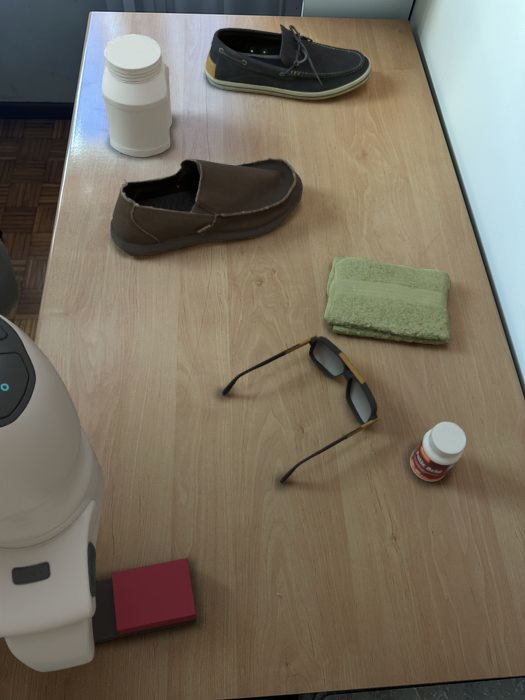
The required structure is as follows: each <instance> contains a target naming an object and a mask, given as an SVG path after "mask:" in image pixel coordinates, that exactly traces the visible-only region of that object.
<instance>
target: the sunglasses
mask: <svg viewBox="0 0 525 700" xmlns="http://www.w3.org/2000/svg"><path fill="white" fill-rule="evenodd" d="M308 344H309V346H310V347H309V351H308V355H309V357H310V359H311V361H312V362H314V364H316V366H317V367H318V368H319V369H320V370H321V371H322V372H323V373H324V374H325V375H326V376H327V377H329V378H330V379H336V378H339V377H341V376H342V377H343V378H344V379H345V381H346V383H345V399H346V402H347V404H348V406H349V407H350V409H351V411H352V413H353V415H354V417H355V418H356V420H357V422H358V423H359V424H360V426H358V427H357V428H354V429H353V430H351V431H349V432H347V433H346V434H345V435H343V436H341V437H340V438H338V439H336V440H334V441H333V442H331V443H329V444H327V445H325V446H324V447H322V448H321V449H319V450H317V451H316V452H314V453H312V454H310V455H309V456H306V457H305V458H303V459H302V460H300V461H299V462H297V463H295V464H294V465H293V467H292V468H290V469H289V470H288V471H287V472H286V473H285V474H284V475H283V476H282V477H281V478H280V479H279V483H280V484H283V483H285V482H286V481H287V480H288V479H290V478H289V477H291V475H292V474H293V473H294V472H295V471H296V470H297V469H298V468H299V467H300V466H301V465H302V464H305V463H306V462H308V461H309V460H311V459H313V458H315V457H316V456H318V455H320V454H323V453H324V452H326V451H328V450H329V449H331V448H333V447H334V446H336V445H338V444H340V443H342V442H343V441H345V440H348V439H349V438H351V437H353V436H355V435H356V434H358V433H360V432H361V431H363V430H364V429H366V428H368V427H370V426H371V425H373V424H375V423H377V422H378V421H379V420H380V419H381V417H380V415H379V414H378V404H377V400H376V399H375V396H374V395H373V392H372V390H371V388H370V387H369V385H368V383H367V381H366V380H365V378H364V377H363V376H362V375H361V373H360V372H359V371H358V369H357V368H356V366H355V365H354V364H353V363H352V362H351V360H350V359H349V358H348V357H347V355H346V354H345V352H343V351H342V350H341V349H340V348H339V347H338V346H337V345H336V344H334V343H333V341H332V340H330V339H329V338H328V337H326V336H322V335H320V336H319V335H318V334H315V335H313V336H310V337H308V338H306V339H305V340H303V341H301V342H299V343H297V344H295V345H292V346H291V347H288V348H287V349H284V350H282V351H281V352H278V353H277V354H275V355H273V356H270V357H269V358H267V359H265V360H263V361H262V362H259V363H257V364H256V365H253V366H252V367H250V368H248V369H245V370H244V371H242V372H240V373H238V374H236V376H234V378H232V380H230V381H229V383H227V385H226V386H225V388H223V390H222V392H221V395H222V396H226V395H227V394H229V393H230V392H231V390H232V389H233V387H234V385H235V384H236V383H237V381H238V380H239V379H240V378H242V377H243V376H245V375H247V374H248V373H252V372H253V371H256V370H257V369H260V368H262V367H264V366H266V365H268V364H270V363H273V362H275V361H276V360H278V359H281V358H282V357H284V356H286V355H288V354H290V353H292V352H294V351H296V350H299V349H300V348H302V347H304V346H306V345H308Z"/></svg>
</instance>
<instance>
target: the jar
mask: <svg viewBox="0 0 525 700" xmlns="http://www.w3.org/2000/svg"><path fill="white" fill-rule="evenodd" d="M103 54H104V60H105V63H104V70H103V75H102V80H101V94H102V99H103V105H104V109H105V116H106V123H107V128H108V134H109V144H110V146H111V147H112V148H113V149H115V150H116V151H117V152H119V153H121V154H123V155H126V156H130V157H136V158H148V157H153V156H156V155H157V156H158V155H160V154H161V153H163V152H166V151H167V150H168V149H170V147H171V136H170V129H171V126H172V125H173V114H172V105H171V104H172V103H171V102H172V101H171V89H170V88H171V85H170V68H169V66H168V65H167V64H166V63H165V62H164V61H163V56H162V48H161V45H160V44H159V42H157V41H156V40H155V39H153V38H152V37H150V36H147V35H143V34H138V33H129V34H122V35H119V36H117V37H114V38H113V39H111V40H110V41H109V42H108V43H107V44H106V46H105V48H104V52H103Z"/></svg>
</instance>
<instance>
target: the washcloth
mask: <svg viewBox="0 0 525 700" xmlns="http://www.w3.org/2000/svg"><path fill="white" fill-rule="evenodd" d="M451 283H452V281H451V278H450V275H449V273H448V272H446V271H444V270H442V269H435V268H421V267H416V266H410V265H406V264H399V263H390V262H384V261H377V260H373V259H367V258H364V257H359V256H358V257H357V256H336V257H334V258H333V260H332V264H331V270H330V273H329V276H328V279H327V283H326V294H327V301H326V307H325V311H324V315H323V322H325V323H326V325H329V326H332V325H333V326H332V333H335V334H337V335H342V334H344V335H349V336H358V337H361V338H366V337H367V338H369V337H370V338H374V339H380V340H390V341H397V342H401V341H402V342H406V343H416V344H417V343H419V344H424V345H429V344H431V345H433V346H435V345H436V346H438V345H444V344H447V343H449V342H450V340H451V331H450V330H451V327H450V323H449V320H450V312H449V311H448V299H449V296H450V291H451V290H450V289H451V287H452V284H451Z"/></svg>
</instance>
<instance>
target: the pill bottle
mask: <svg viewBox="0 0 525 700" xmlns="http://www.w3.org/2000/svg"><path fill="white" fill-rule="evenodd" d="M466 446H467V436H466V433H465V431H464V430H463V429H462V427H461V426H459V425H458V424H457V423H454V422H452V421H441V422H438V423H437V424H436V425H434V427H432V428H431V429H429V430H427V432H426V433H425V434H424V435H423V437H422V438H421V439H420V441H419V443H418V444H417V445H416V447H415V448H414V450H413V451H412V453H411V454H410V458H409V463H410V468H411V470H412V472H413V473H414V474H415V475H416V476H417V477H418V478H419V479H421V480H422V481H425V482H430V483H431V482H432V483H433V482H437V481H440V480H441V479H443V478H444V477H445V476H446V475H447V473H449V472H450V470H452V469H453V467H454V466H455V465H456V463H457V462H458V461H459V460H460V459H461V458H462V455H463V452H464V449H465V448H466Z"/></svg>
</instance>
